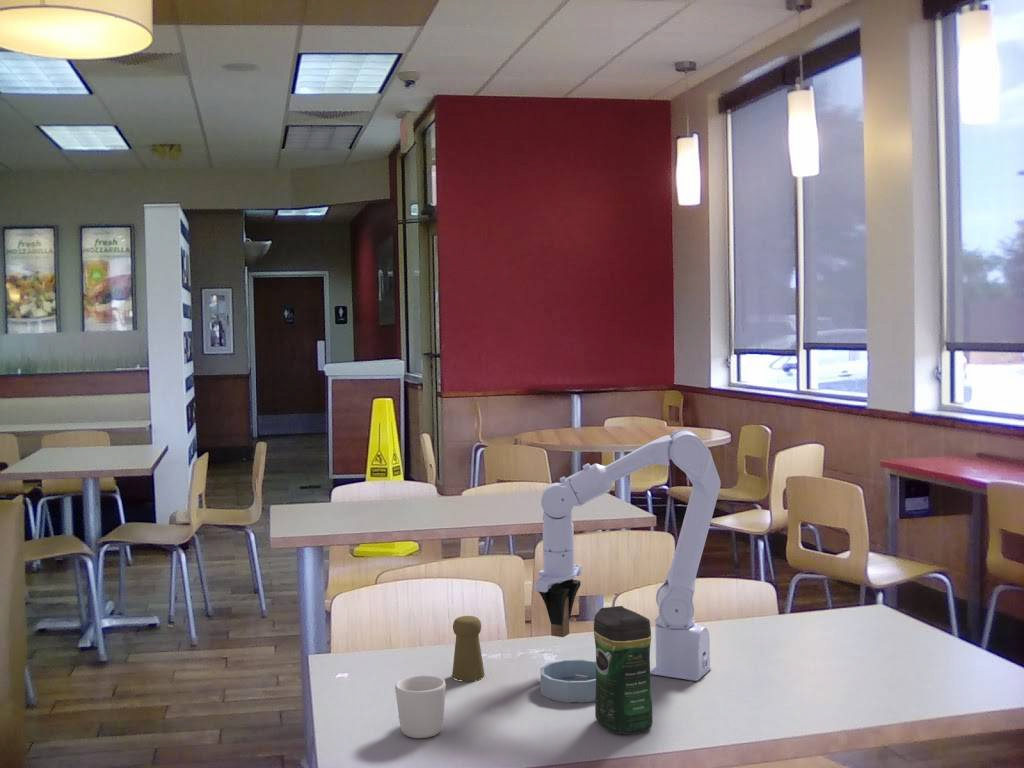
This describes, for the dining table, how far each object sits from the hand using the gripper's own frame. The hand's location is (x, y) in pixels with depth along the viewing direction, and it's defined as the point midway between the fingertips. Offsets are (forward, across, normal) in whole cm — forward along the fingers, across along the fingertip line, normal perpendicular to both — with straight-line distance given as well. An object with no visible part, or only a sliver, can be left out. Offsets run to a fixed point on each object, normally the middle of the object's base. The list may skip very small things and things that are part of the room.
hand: (560, 621), depth 194 cm
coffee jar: (+10, +19, +21) cm, 30 cm away
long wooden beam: (+2, 0, 0) cm, 2 cm away
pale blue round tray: (+9, +8, +7) cm, 14 cm away
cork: (+9, +10, -14) cm, 20 cm away
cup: (+9, +35, -7) cm, 37 cm away
